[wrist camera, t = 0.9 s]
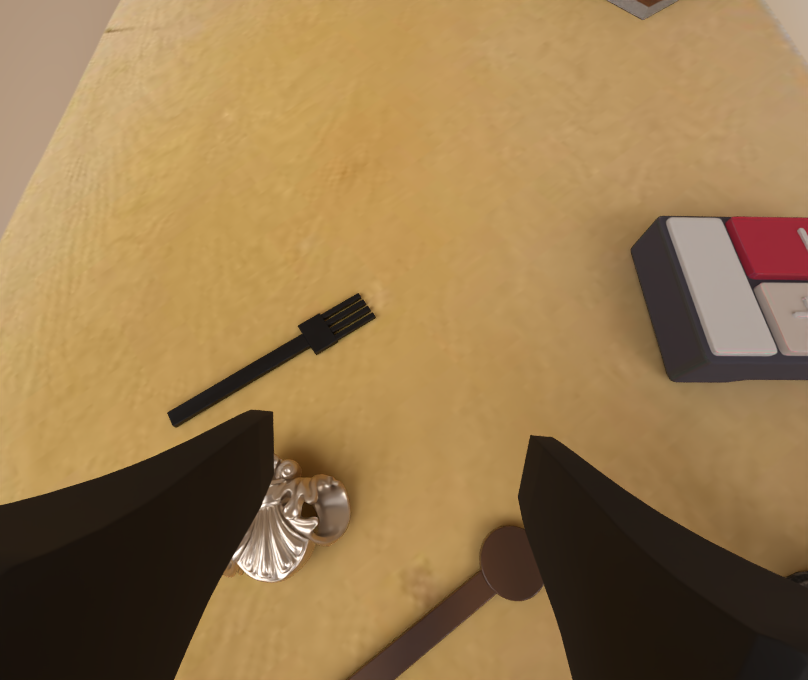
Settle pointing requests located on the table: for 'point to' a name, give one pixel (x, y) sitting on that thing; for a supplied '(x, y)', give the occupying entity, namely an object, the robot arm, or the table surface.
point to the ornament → (291, 524)
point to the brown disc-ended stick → (463, 602)
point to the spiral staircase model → (642, 6)
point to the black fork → (280, 356)
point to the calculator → (727, 296)
